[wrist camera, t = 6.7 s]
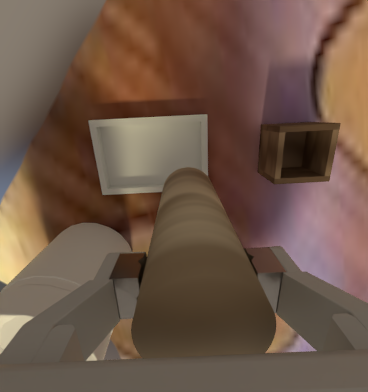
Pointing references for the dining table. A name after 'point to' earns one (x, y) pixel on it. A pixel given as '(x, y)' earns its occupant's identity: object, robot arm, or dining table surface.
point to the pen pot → (297, 151)
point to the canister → (58, 277)
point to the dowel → (198, 280)
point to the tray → (147, 150)
